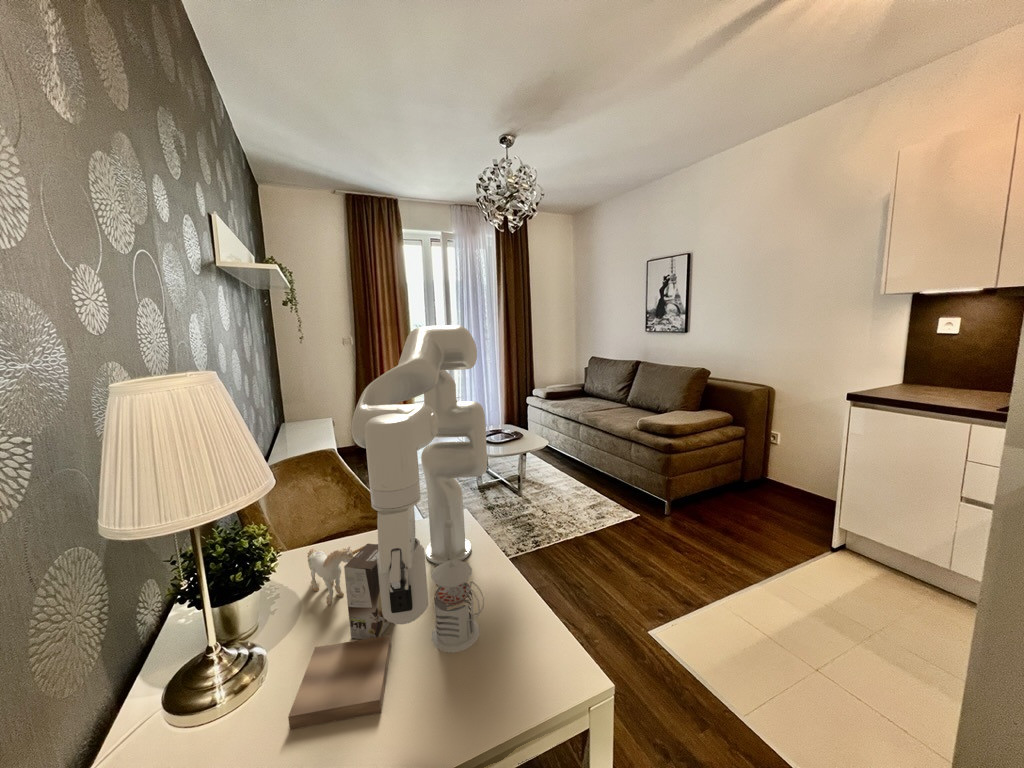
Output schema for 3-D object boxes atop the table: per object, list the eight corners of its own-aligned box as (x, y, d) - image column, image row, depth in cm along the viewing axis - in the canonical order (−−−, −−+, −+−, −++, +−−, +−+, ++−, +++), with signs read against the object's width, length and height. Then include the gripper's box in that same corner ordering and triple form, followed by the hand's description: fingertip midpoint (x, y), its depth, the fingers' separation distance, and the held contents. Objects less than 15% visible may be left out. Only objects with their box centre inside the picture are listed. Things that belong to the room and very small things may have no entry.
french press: (449, 610, 89) (443, 505, 85) (495, 626, 84) (490, 515, 80) (421, 642, 81) (412, 527, 77) (470, 662, 75) (463, 540, 72)
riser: (316, 658, 78) (315, 647, 77) (391, 646, 80) (390, 635, 80) (290, 730, 64) (288, 716, 64) (381, 712, 66) (379, 699, 66)
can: (387, 598, 70) (381, 534, 68) (430, 593, 71) (426, 530, 69) (378, 630, 63) (370, 561, 61) (426, 625, 63) (421, 556, 61)
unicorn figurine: (352, 615, 89) (347, 560, 87) (291, 594, 96) (284, 543, 94) (375, 595, 95) (370, 543, 93) (316, 576, 103) (310, 528, 101)
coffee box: (378, 642, 81) (371, 569, 78) (349, 638, 82) (342, 566, 80) (399, 610, 90) (393, 544, 87) (373, 607, 91) (367, 541, 89)
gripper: (379, 474, 71) (387, 565, 74) (360, 522, 54) (372, 637, 57) (422, 470, 72) (429, 559, 75) (416, 516, 55) (425, 628, 58)
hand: (404, 592), depth 66 cm, fingers closed on can, 7 cm apart
